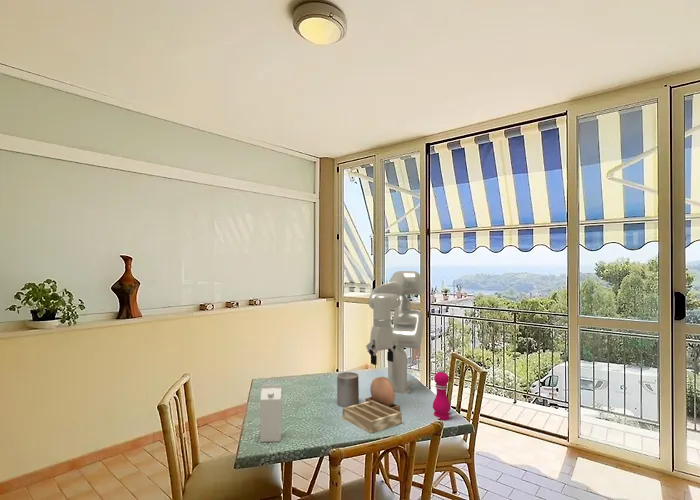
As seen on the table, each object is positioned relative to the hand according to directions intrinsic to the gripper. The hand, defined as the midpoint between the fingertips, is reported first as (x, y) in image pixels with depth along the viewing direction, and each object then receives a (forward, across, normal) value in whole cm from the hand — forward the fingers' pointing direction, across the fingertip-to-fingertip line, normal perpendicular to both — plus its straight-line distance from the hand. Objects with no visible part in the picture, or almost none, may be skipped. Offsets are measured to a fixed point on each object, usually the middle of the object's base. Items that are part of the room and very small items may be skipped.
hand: (382, 362), depth 174 cm
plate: (+19, 0, 0) cm, 19 cm away
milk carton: (+21, +51, -4) cm, 55 cm away
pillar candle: (+21, +9, -13) cm, 26 cm away
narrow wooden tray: (+20, 0, 0) cm, 20 cm away
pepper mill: (+21, -14, +21) cm, 33 cm away
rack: (+20, +13, +8) cm, 25 cm away
